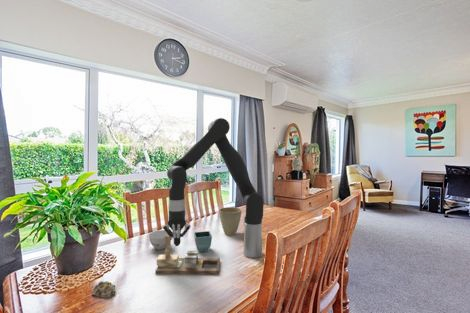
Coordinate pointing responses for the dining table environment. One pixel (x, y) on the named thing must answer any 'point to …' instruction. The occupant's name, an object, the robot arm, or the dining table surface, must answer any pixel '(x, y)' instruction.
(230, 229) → the plant pot
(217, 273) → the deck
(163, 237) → the grey stone bowl
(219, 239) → the dining table surface
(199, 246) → the flower pot
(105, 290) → the mineral rock
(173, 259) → the beige post stand
